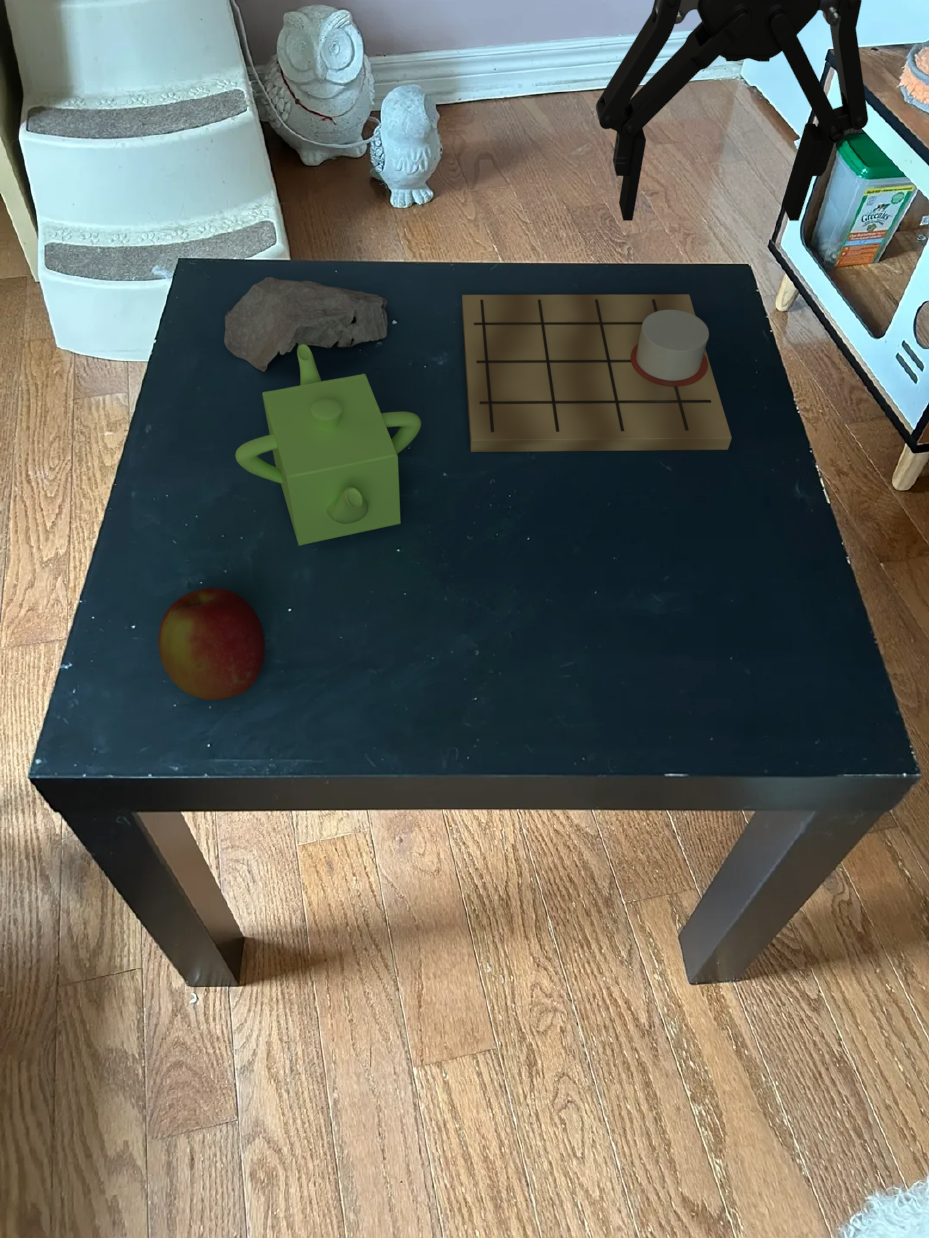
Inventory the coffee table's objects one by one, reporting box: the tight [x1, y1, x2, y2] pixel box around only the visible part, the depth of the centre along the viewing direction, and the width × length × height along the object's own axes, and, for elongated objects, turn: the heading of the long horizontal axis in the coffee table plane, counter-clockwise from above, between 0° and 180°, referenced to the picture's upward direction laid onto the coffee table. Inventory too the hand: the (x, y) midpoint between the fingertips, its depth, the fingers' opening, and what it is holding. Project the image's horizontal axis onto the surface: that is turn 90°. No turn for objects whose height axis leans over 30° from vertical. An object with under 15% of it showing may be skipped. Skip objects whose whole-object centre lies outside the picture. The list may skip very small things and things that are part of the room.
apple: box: [158, 587, 266, 701], centre depth 70 cm, size 8×8×8 cm
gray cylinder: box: [636, 310, 710, 381], centre depth 94 cm, size 6×6×4 cm
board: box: [461, 293, 732, 453], centre depth 95 cm, size 24×22×2 cm
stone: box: [223, 276, 389, 373], centre depth 96 cm, size 15×8×15 cm
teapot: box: [235, 344, 422, 546], centre depth 80 cm, size 15×13×11 cm
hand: (708, 212), depth 79 cm, fingers open, 13 cm apart
